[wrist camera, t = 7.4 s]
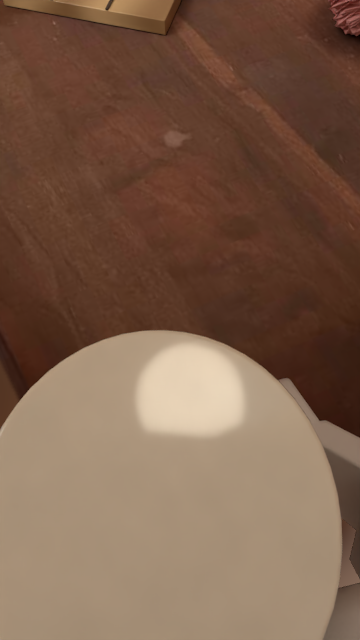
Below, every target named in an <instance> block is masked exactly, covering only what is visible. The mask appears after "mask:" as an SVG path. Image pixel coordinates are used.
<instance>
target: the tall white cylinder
mask: <svg viewBox="0 0 360 640" xmlns="http://www.w3.org/2000/svg"><path fill="white" fill-rule="evenodd" d="M341 561H342V520H341V513H340V506H339V499H338V493H337V489H336V485H335V481H334V478H333V474H332V470H331V466H330V464H329V461H328V458H327V456H326V453H325V451H324V448H323V446H322V443H321V441H320V439H319V437H318V435H317V433H316V431H315V429H314V428H313V426H312V424H311V422H310V420H309V418H308V417H307V416H306V414H305V413H304V411H303V410H302V408H301V407H300V405H299V404H298V403H297V401H296V400H295V398H294V397H293V396H292V395H291V394H290V393H289V392H288V390H287V389H286V388H285V387H284V386H283V385H282V384H281V383H280V381H278V380H277V379H276V378H275V377H274V376H273V375H272V374H271V373H269V372H268V371H267V370H266V369H265V368H264V367H263V366H261V365H260V364H258V363H257V362H256V361H254V360H253V359H251V358H250V357H248V356H247V355H245V354H244V353H242V352H240V351H238V350H236V349H234V348H232V347H230V346H229V345H227V344H224V343H222V342H219V341H216V340H214V339H211V338H208V337H205V336H201V335H197V334H193V333H188V332H182V331H172V330H143V331H137V332H130V333H124V334H120V335H117V336H113V337H110V338H106V339H103V340H101V341H99V342H96V343H94V344H92V345H89V346H87V347H85V348H83V349H81V350H79V351H78V352H76V353H74V354H72V355H71V356H69V357H67V358H66V359H64V360H63V361H62V362H60V363H59V364H57V365H56V366H55V367H53V368H52V369H51V370H49V371H48V372H47V373H46V374H45V375H44V376H43V377H42V378H41V379H40V380H39V381H38V382H37V383H35V384H34V385H33V386H32V387H31V388H30V389H29V391H28V392H27V393H26V394H25V395H24V397H23V398H22V399H21V400H20V401H19V403H18V404H17V405H16V406H15V408H14V409H13V411H12V412H11V414H10V415H9V417H8V418H7V420H6V421H5V423H4V424H3V426H2V427H1V429H0V640H323V638H324V635H325V632H326V629H327V627H328V624H329V621H330V618H331V615H332V612H333V609H334V605H335V600H336V595H337V591H338V586H339V581H340V573H341Z"/></svg>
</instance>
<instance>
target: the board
mask: <svg viewBox="0 0 360 640" xmlns="http://www.w3.org/2000/svg"><path fill="white" fill-rule="evenodd" d="M3 1H4V3H5V5H6V6H11V7H17V8H22V9H28V10H33V11H38V12H44V13H49V14H55V15H60V16H65V17H71V18H76V19H82V20H87V21H92V22H98V23H103V24H109V25H114V26H119V27H125V28H130V29H136V30H141V31H146V32H152V33H157V34H163V35H166V33H167V31H168V29H169V27H170V25H171V22H172V20H173V18H174V16H175V13H176V11H177V9H178V7H179V5H180V2H181V0H3Z"/></svg>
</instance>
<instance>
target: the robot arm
mask: <svg viewBox="0 0 360 640" xmlns="http://www.w3.org/2000/svg"><path fill="white" fill-rule="evenodd" d="M278 381H280V383H281V384H282V385H283V386H284V387H285V388H286V389H287V390H288V392H289V393H290V394H291V395H292V396H293V397H294V398H295V400H296V401H297V403H298V404H299V405H300V407H301V408H302V410H303V411H304V413H305V414H306V416H307V417H308V418H309V420H310V422H311V424H312V426H313V428H314V429H315V431H316V433H317V435H318V437H319V439H320V441H321V443H322V446H323V448H324V451H325V453H326V456H327V458H328V461H329V464H330V466H331V470H332V474H333V478H334V481H335V485H336V489H337V493H338V499H339V506H340V513H341V518H342V519H343V520H345V521H346V522H347V523H348V524H349V525H351V526H352V527H353V528H354V529H355V530H356V534H355V538H354V543H353V547H352V551H351V555H350V561H351V563H352V565H353V567H354V569H355V571H356V573H357V574H358V576H359V578H360V438H359V437H357V436H355V435H353V434H351V433H349V432H347V431H345V430H344V429H342V428H340V427H338V426H336V425H334V424H332V423H330V422H328V421H326V420H324V421H319V419H318V418H317V417H316V415H315V414H314V412H313V411H312V410H311V408H310V407H309V405H308V404H307V403H306V401H305V400H304V398H303V397H302V396H301V394H300V393H299V391H298V390H297V389H296V387H295V386H294V384H293V383H292V382H291V380H290V379H288V378H284V379H280V380H278ZM323 640H360V583H357V584H353V585H350V586H346V587H342V588H338V591H337V595H336V600H335V605H334V609H333V612H332V615H331V618H330V621H329V624H328V627H327V629H326V632H325V635H324V638H323Z"/></svg>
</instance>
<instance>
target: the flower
mask: <svg viewBox="0 0 360 640" xmlns="http://www.w3.org/2000/svg"><path fill="white" fill-rule="evenodd" d="M329 2H330V4H331V7H330V9H329V10H331V11H332V12H333V13H334V15H335V17H334V18H333V20H335V21H337V23H336V24H335V26H337V27H341V28H342V29H344V32H345V34H349V33H350V34H351V35H353V34H354V35H355V36H358V35H359V34H360V0H329Z"/></svg>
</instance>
